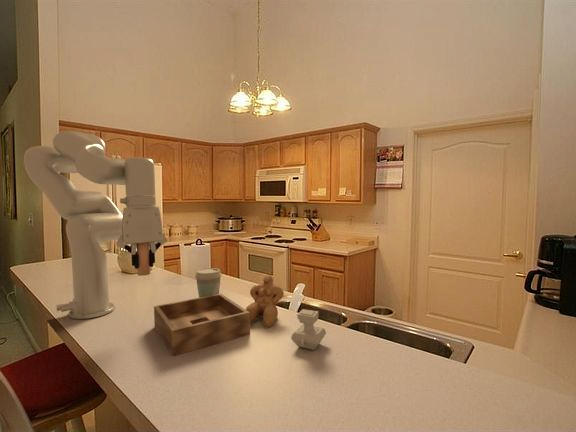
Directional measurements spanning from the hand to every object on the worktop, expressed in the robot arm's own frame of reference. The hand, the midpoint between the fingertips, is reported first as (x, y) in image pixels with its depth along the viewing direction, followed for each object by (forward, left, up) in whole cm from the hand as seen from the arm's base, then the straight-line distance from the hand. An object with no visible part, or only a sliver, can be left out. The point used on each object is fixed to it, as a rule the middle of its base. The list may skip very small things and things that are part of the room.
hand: (143, 266), depth 91 cm
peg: (0, 0, -2) cm, 2 cm away
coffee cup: (+21, +5, -17) cm, 28 cm away
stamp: (+31, -37, -17) cm, 51 cm away
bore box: (+12, -13, -17) cm, 24 cm away
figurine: (+30, -16, -17) cm, 38 cm away
